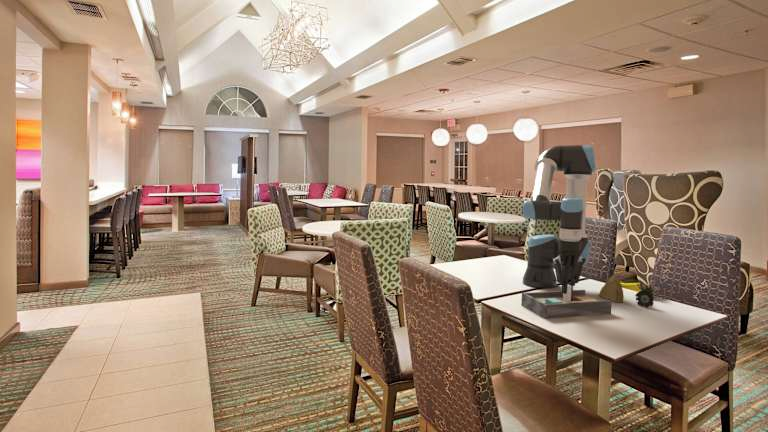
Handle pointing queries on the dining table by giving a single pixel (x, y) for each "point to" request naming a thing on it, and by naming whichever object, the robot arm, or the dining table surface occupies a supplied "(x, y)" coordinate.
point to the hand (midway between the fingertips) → (566, 301)
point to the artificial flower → (645, 295)
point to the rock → (612, 290)
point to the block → (552, 301)
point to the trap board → (565, 304)
